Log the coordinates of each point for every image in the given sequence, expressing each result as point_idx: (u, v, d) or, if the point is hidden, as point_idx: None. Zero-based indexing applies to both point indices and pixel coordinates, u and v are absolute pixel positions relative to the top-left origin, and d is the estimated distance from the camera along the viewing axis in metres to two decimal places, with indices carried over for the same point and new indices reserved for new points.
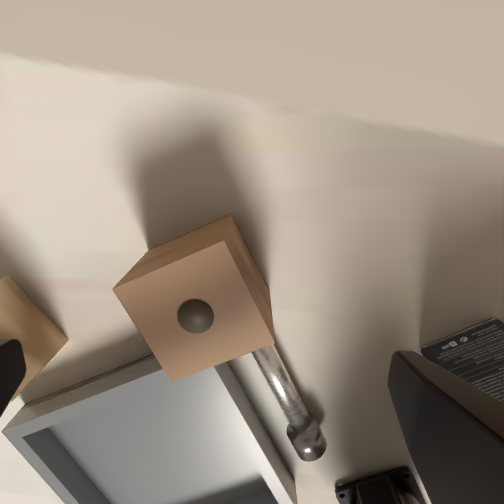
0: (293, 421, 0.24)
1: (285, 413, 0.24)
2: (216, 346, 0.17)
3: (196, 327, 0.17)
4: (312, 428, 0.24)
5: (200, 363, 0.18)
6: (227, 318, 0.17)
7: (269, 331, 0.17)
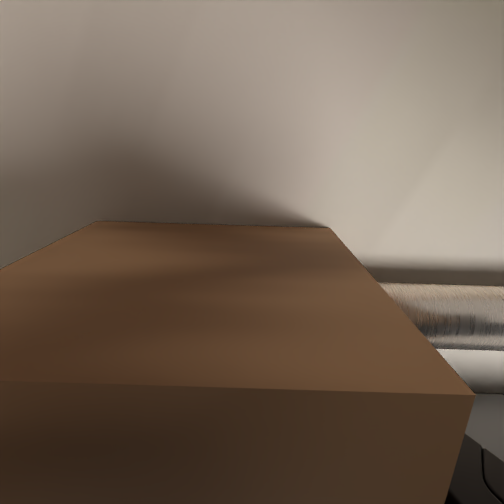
0: None
1: None
2: None
3: None
4: None
5: None
6: None
7: (394, 385, 0.03)
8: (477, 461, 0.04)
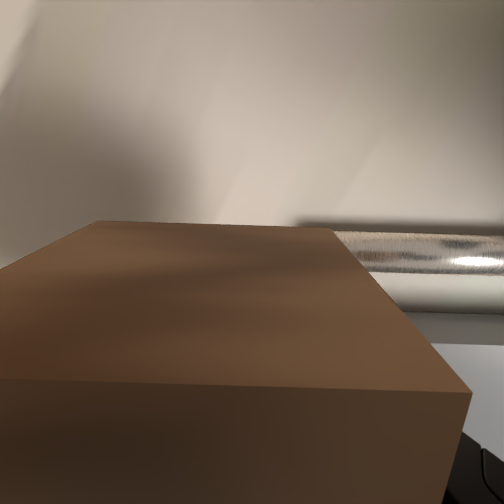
0: None
1: None
2: None
3: None
4: None
5: None
6: None
7: (392, 383, 0.03)
8: (477, 461, 0.04)
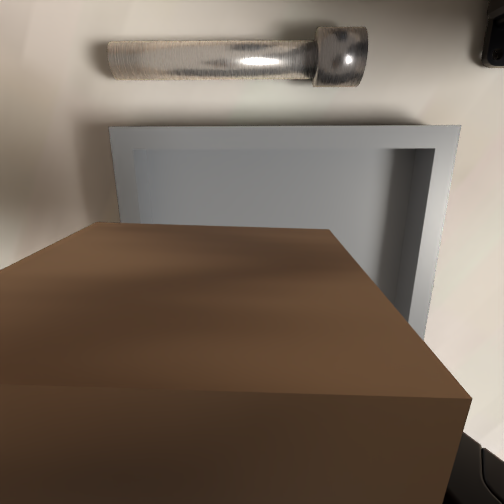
0: (293, 62, 0.15)
1: (276, 70, 0.16)
2: None
3: None
4: (318, 36, 0.15)
5: None
6: None
7: (390, 388, 0.03)
8: (477, 461, 0.04)
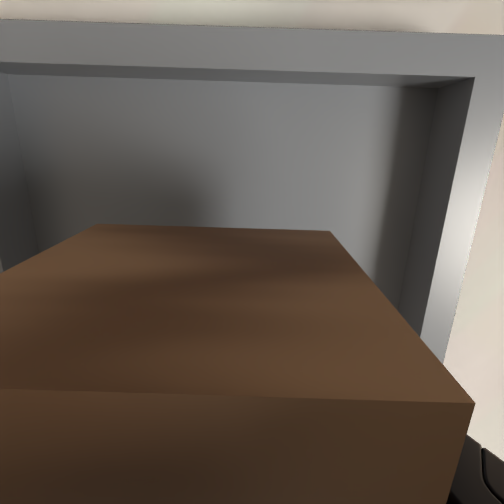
0: None
1: None
2: None
3: None
4: None
5: None
6: None
7: (393, 393, 0.03)
8: (477, 461, 0.04)
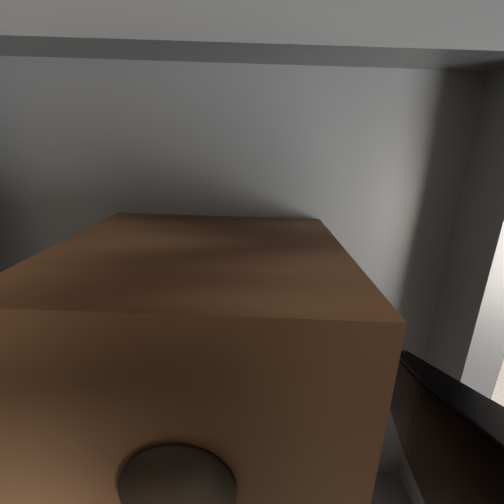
0: None
1: None
2: (308, 482, 0.05)
3: (210, 503, 0.05)
4: None
5: None
6: (225, 417, 0.05)
7: (351, 317, 0.04)
8: None
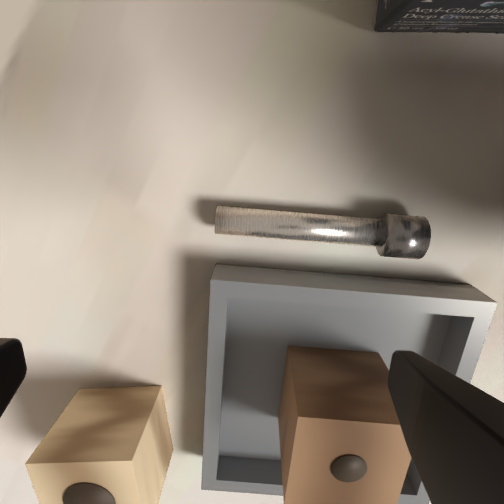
0: (365, 239, 0.19)
1: (350, 242, 0.19)
2: (388, 468, 0.17)
3: (358, 472, 0.17)
4: (389, 223, 0.18)
5: (393, 486, 0.18)
6: (367, 447, 0.17)
7: None
8: None
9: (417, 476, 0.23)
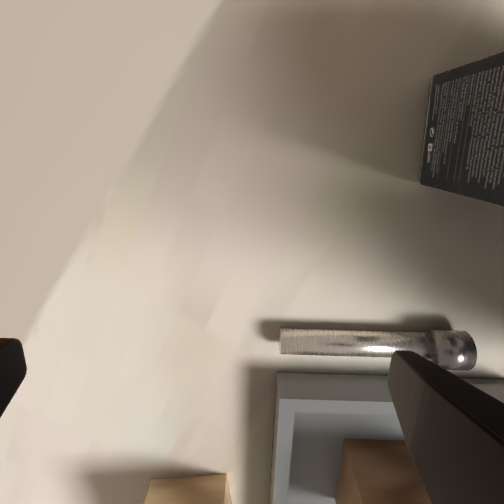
0: None
1: None
2: None
3: None
4: (438, 342, 0.20)
5: None
6: None
7: None
8: None
9: None
